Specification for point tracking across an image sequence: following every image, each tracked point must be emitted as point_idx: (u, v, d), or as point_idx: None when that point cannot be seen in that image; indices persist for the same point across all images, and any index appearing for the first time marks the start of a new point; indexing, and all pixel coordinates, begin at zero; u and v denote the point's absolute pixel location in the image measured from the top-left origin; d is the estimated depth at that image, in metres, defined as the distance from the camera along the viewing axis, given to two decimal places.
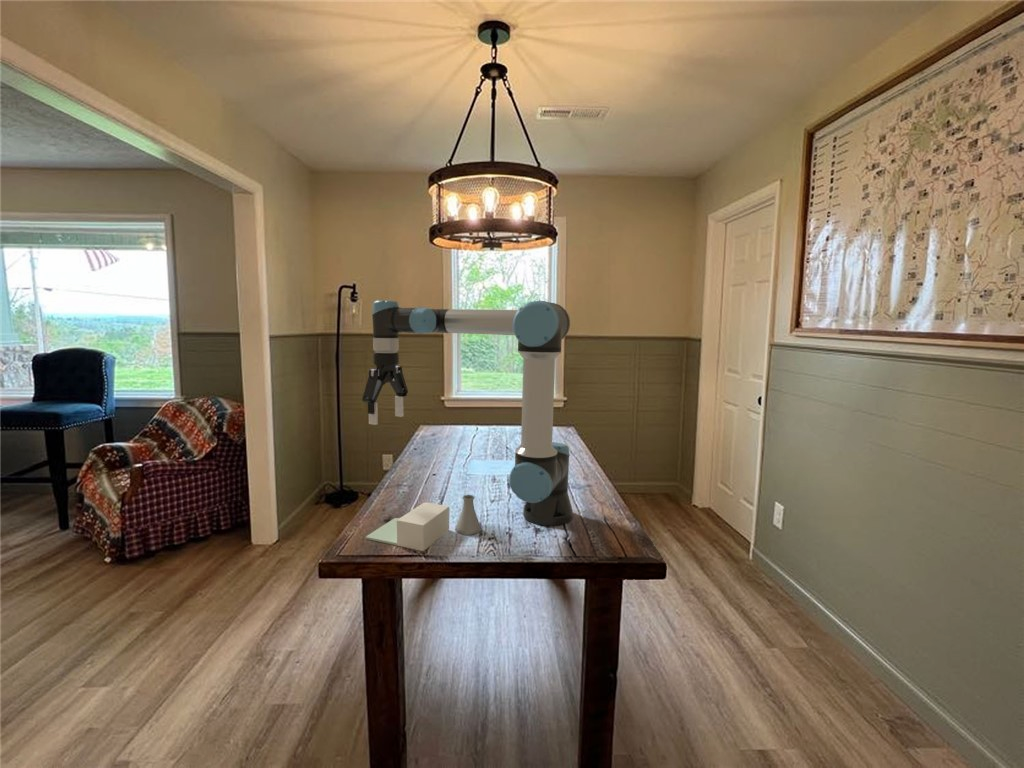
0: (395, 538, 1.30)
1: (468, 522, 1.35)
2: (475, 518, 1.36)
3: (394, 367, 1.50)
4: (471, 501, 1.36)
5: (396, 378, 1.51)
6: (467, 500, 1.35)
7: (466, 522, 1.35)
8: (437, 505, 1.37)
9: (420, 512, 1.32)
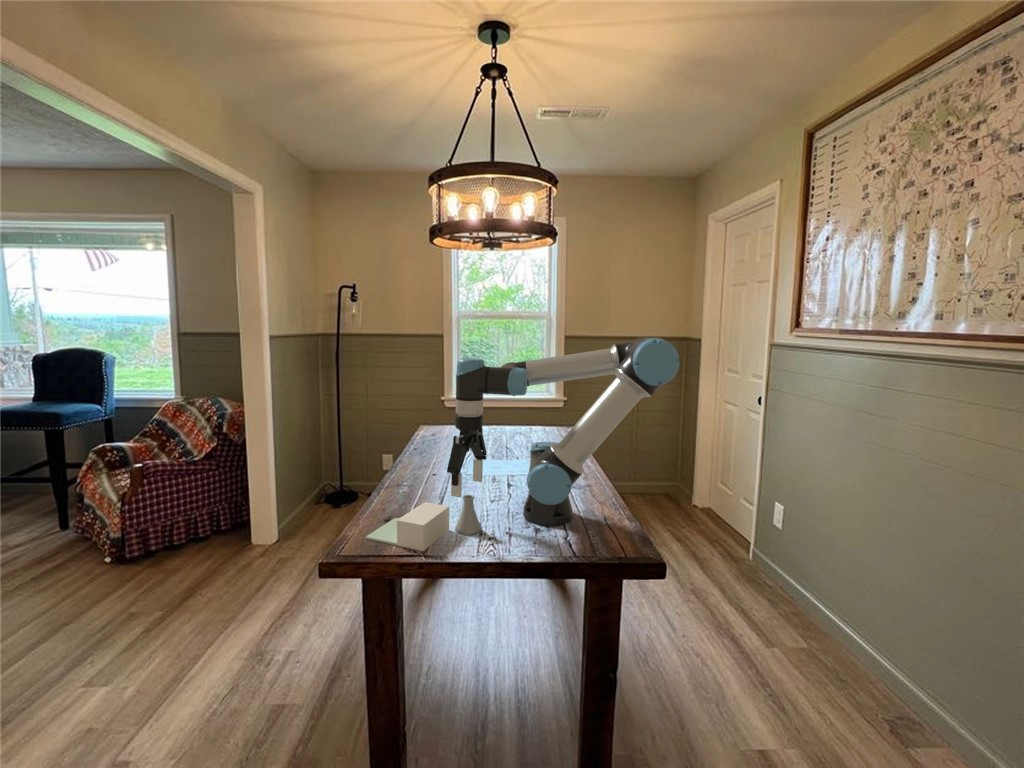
0: (395, 538, 1.30)
1: (468, 522, 1.35)
2: (475, 518, 1.36)
3: (476, 430, 1.36)
4: (471, 501, 1.36)
5: (478, 442, 1.36)
6: (467, 500, 1.35)
7: (466, 522, 1.35)
8: (437, 505, 1.37)
9: (420, 512, 1.32)
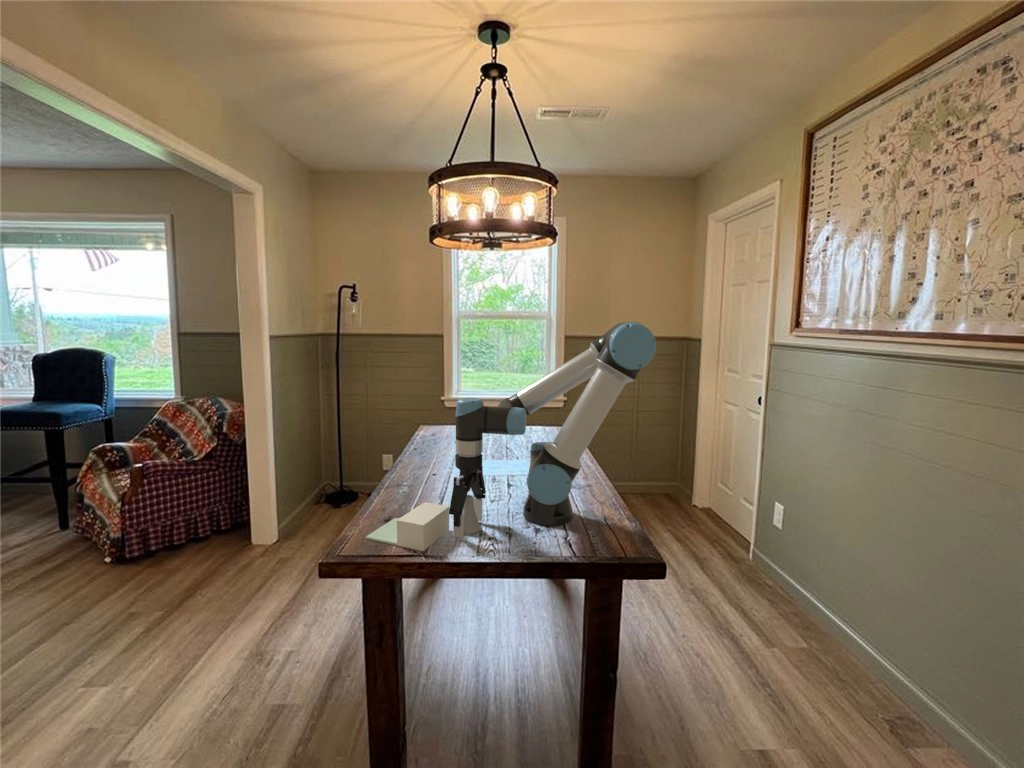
0: (395, 538, 1.30)
1: (468, 522, 1.35)
2: (475, 518, 1.36)
3: None
4: (471, 501, 1.36)
5: (478, 480, 1.38)
6: (467, 500, 1.35)
7: (466, 522, 1.35)
8: (437, 505, 1.37)
9: (420, 512, 1.32)
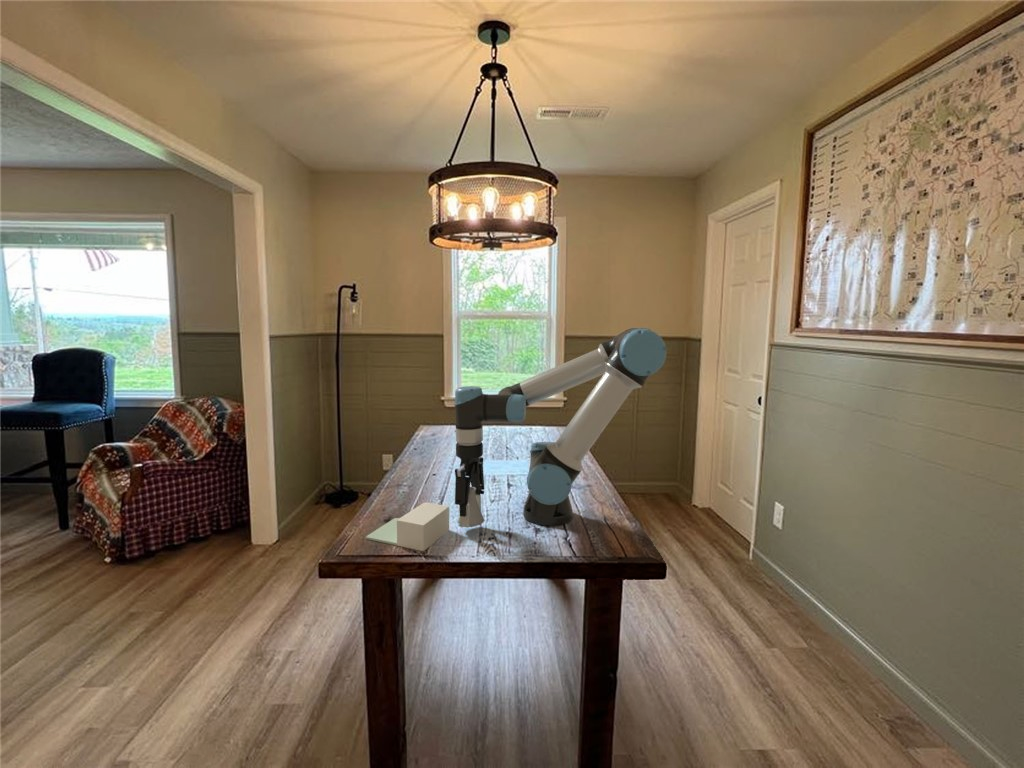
0: (395, 538, 1.30)
1: (470, 514, 1.34)
2: (478, 510, 1.36)
3: None
4: (473, 493, 1.35)
5: (478, 471, 1.37)
6: (469, 492, 1.35)
7: None
8: (437, 505, 1.37)
9: (420, 512, 1.32)
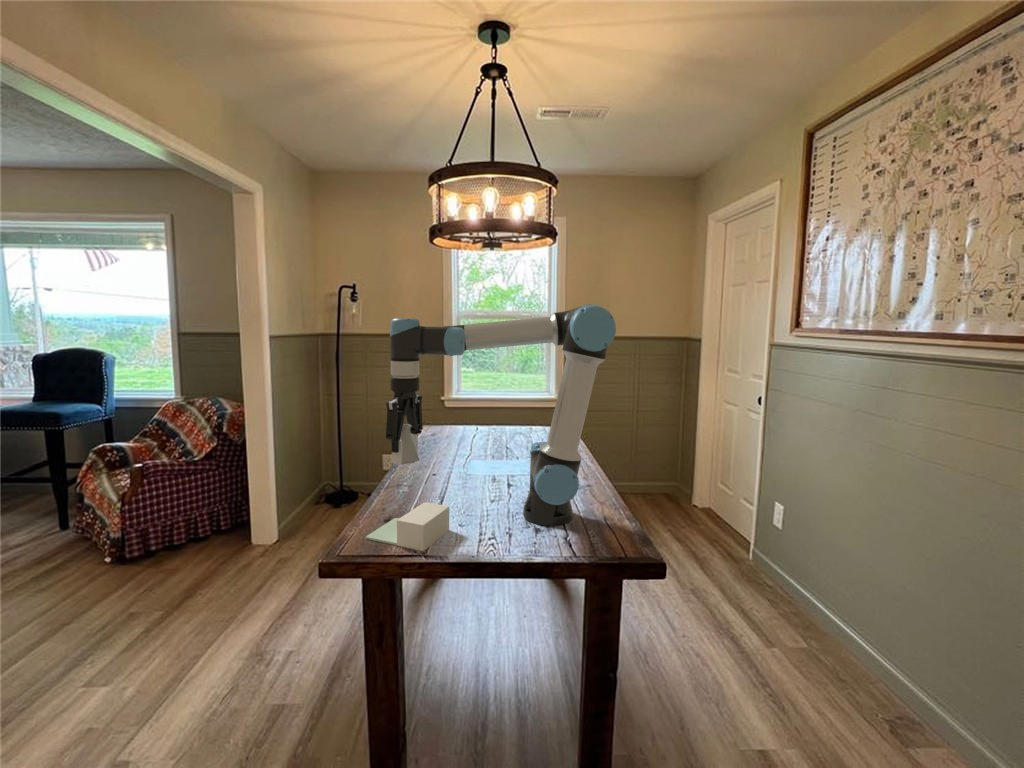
0: (395, 538, 1.30)
1: (403, 451, 1.29)
2: (412, 448, 1.31)
3: (414, 393, 1.32)
4: (407, 429, 1.30)
5: (414, 408, 1.31)
6: (403, 428, 1.29)
7: None
8: (437, 505, 1.37)
9: (420, 512, 1.32)
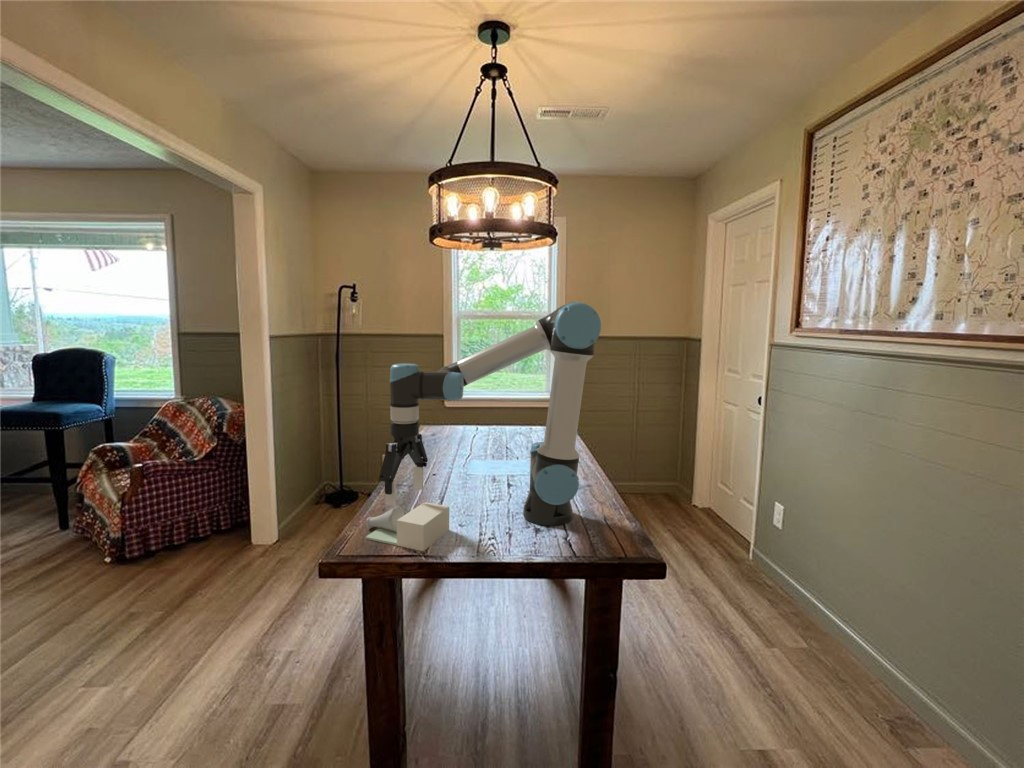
0: (395, 538, 1.30)
1: (383, 519, 1.33)
2: None
3: (413, 437, 1.33)
4: (370, 518, 1.37)
5: (415, 449, 1.34)
6: (367, 523, 1.36)
7: (383, 521, 1.33)
8: (437, 505, 1.37)
9: (420, 512, 1.32)
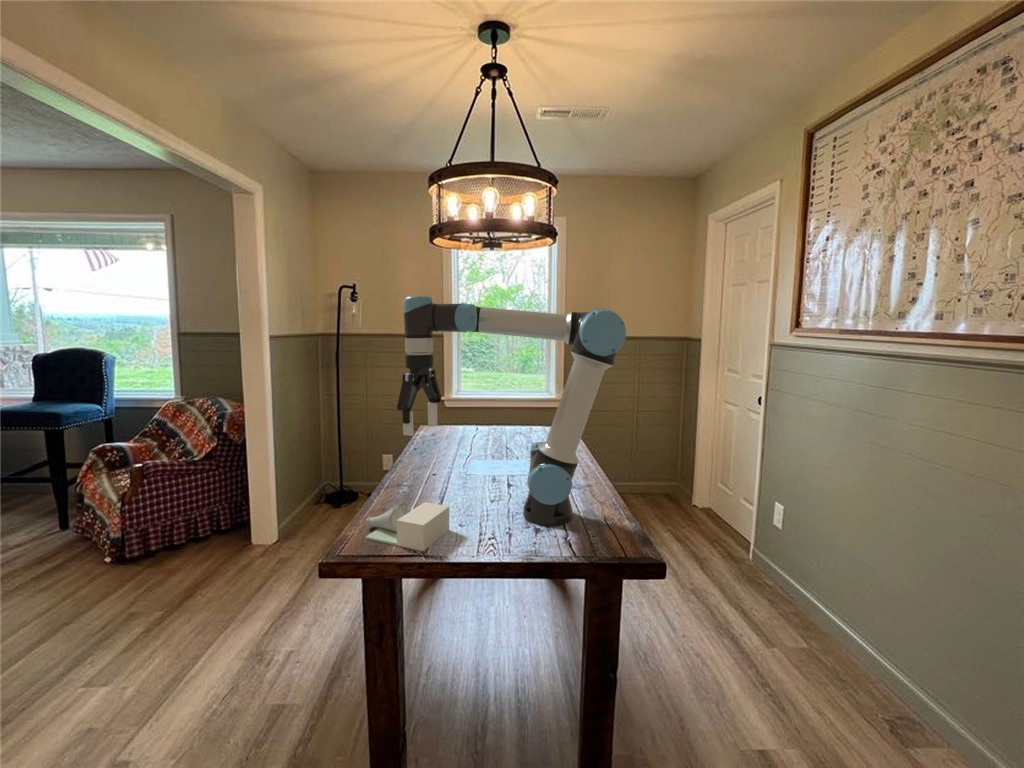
0: (395, 538, 1.30)
1: (383, 519, 1.33)
2: None
3: (428, 370, 1.35)
4: (370, 519, 1.37)
5: (430, 383, 1.35)
6: (367, 523, 1.36)
7: (383, 521, 1.33)
8: (437, 505, 1.37)
9: (420, 512, 1.32)
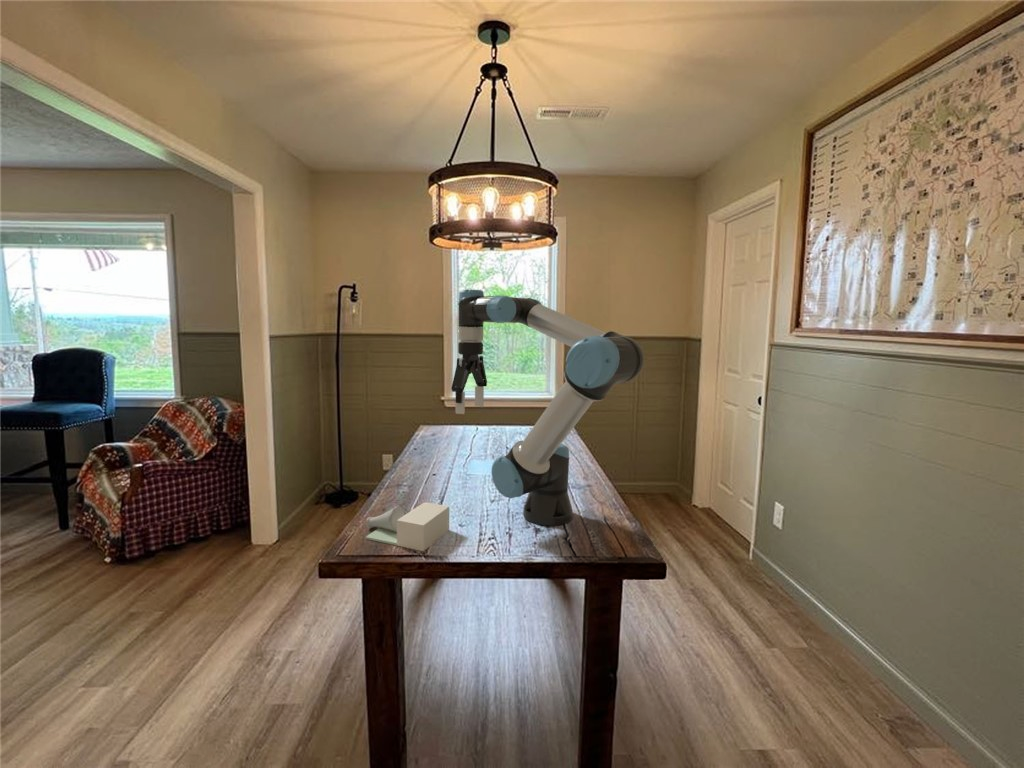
0: (395, 538, 1.30)
1: (383, 519, 1.33)
2: None
3: (477, 357, 1.50)
4: (370, 519, 1.37)
5: (479, 368, 1.50)
6: (367, 523, 1.36)
7: (383, 521, 1.33)
8: (437, 505, 1.37)
9: (420, 512, 1.32)
